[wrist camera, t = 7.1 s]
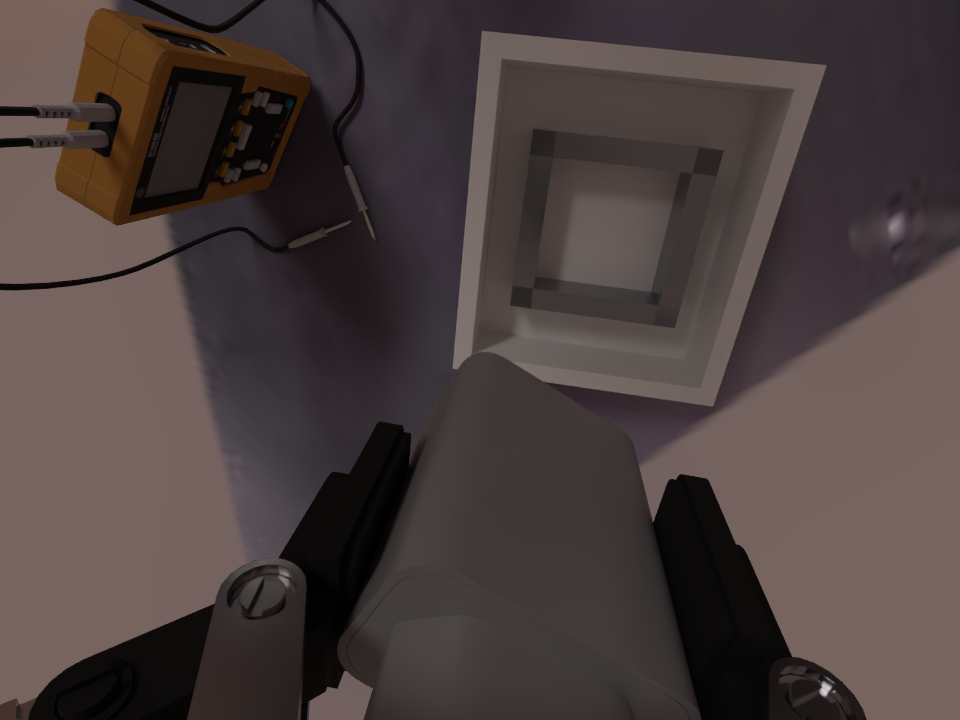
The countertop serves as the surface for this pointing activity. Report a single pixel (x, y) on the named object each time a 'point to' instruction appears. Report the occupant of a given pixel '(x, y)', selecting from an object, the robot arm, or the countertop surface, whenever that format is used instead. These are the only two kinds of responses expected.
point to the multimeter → (174, 122)
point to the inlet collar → (677, 245)
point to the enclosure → (623, 204)
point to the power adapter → (518, 569)
